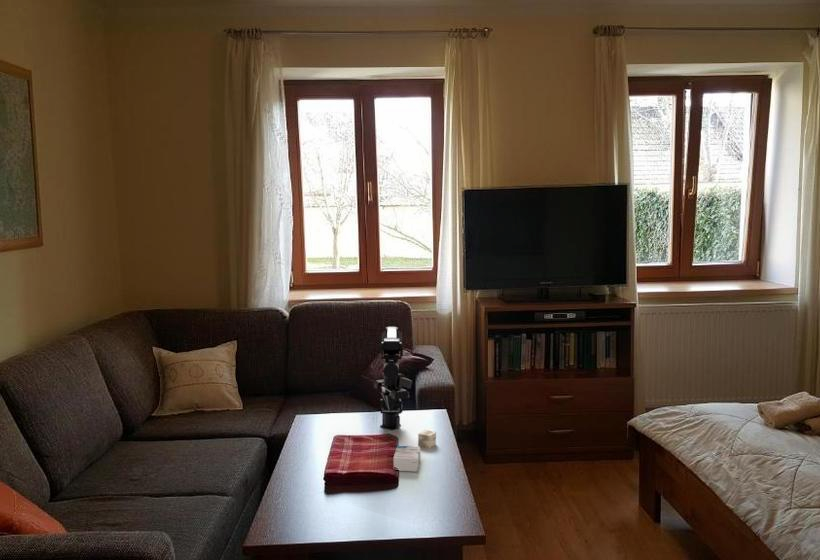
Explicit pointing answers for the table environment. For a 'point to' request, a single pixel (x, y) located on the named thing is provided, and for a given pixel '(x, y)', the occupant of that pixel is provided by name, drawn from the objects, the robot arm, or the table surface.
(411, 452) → the ink box
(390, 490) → the table surface
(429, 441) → the birch block
